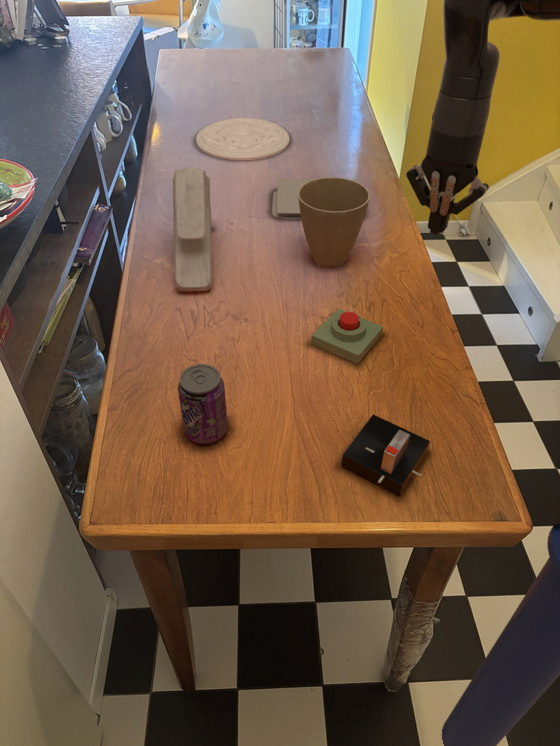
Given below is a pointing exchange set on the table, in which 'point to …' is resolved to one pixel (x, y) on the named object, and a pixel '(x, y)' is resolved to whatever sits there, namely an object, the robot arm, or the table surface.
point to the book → (288, 198)
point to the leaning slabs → (192, 230)
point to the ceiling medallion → (242, 139)
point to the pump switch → (347, 337)
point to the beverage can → (203, 403)
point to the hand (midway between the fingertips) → (436, 231)
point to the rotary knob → (395, 452)
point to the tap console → (370, 450)
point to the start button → (349, 321)
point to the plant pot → (332, 217)
